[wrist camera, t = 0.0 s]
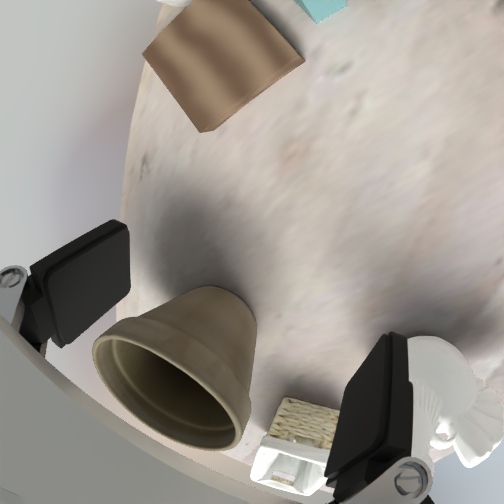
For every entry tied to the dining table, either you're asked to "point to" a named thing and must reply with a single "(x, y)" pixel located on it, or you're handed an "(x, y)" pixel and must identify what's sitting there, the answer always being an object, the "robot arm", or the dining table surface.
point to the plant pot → (184, 367)
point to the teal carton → (321, 8)
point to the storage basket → (296, 446)
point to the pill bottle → (177, 2)
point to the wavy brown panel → (219, 58)
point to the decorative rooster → (451, 403)
